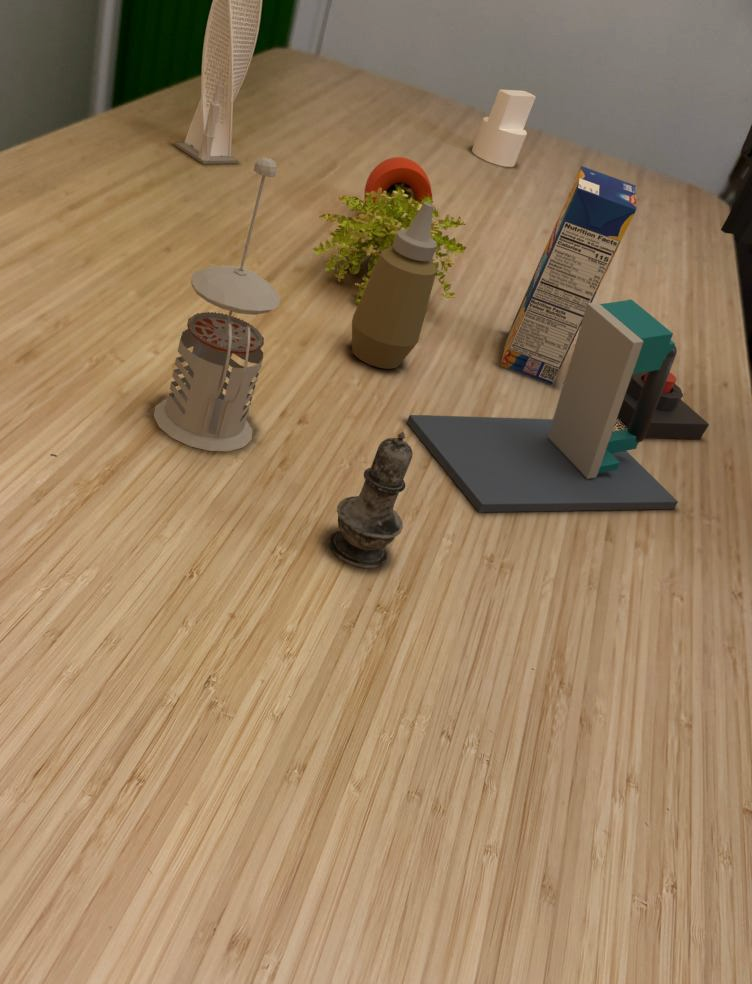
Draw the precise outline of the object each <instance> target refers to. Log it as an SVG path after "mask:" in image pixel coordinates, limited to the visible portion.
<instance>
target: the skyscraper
mask: <svg viewBox="0 0 752 984" xmlns="http://www.w3.org/2000/svg"><path fill="white" fill-rule="evenodd" d="M262 8H263V0H212V2H211V5H210V9H209V13H208V18H207V22H206V28H205V33H204V39H203V47H202V56H201V57H202V58H201V59H202V60H201V74H200V75H201V78H200V80H201V81H200V87H201V88H200V92H201V94H200V99H199V101H198V105H197V107H196V110H195V112H194V116H193V117H192V120H191V122H190V126H189V128H188V131H187V134H186V137H185V139H184V142H174V146H175V147H176V148H178V149H179V150H180V151H183V152H184V153H185V154H187V155H189V156H190V157H192V158H193V159H195V160H196V161H198V162H199V163H201V164H202V165H214V164H215V165H217V164H219V165H220V164H221V165H222V164H237V163H238V160H237V159H236V158H234V157H232V139H233V138H232V137H233V114H234V113H233V111H234V110H233V108H234V102H235V100H236V98H237V96H238V94H239V92H240V90H241V87H242V85H243V84H244V81H245V78H246V75H247V74H248V69H249V68H250V66H251V65H250V64H251V62H252V59H253V56H254V53H255V48H256V45H257V40H258V36H259V31H260V25H261V18H262Z"/></svg>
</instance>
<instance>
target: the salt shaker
mask: <svg viewBox="0 0 752 984" xmlns="http://www.w3.org/2000/svg"><path fill="white" fill-rule="evenodd" d="M405 439H406V434H405V432H404V431H401V432H399V433H398V434H397V437H387V438H385V439H383V440H382V441H381V442H380V443H379V445H378V447H377V450H376V453H375V455H374V457H373V460H372V463H371V466H370V467H368V468H366V469H365V470H364V472H363V479H364V482H363V485H362V487H361V491H360V492H359V494H358V495H356V496H355V495H354V496H352V495H351V496H348V497H345V498H343V499H341V500H340V501H339V502H338V504H337V509H336V512H337V525H338V530H336V531H335V532H333V533H332V534H331V535H330V537H329V539H328V545H329V548H330V551H332V553H333V554H334V555H335V556H336V557H337V558H338V559H340V560H341V561H342V562H344V563H346V564H348V565H350V566H354V567H357V568H359V569H360V568H361V569H376V568H378V567H381V566H383V565H384V564H385V563H386V561H387V559H388V554H387V551H386V547H387V546H388V545H389V544H390V543H392V542H393V541H394V540H395V537H397V536H399V535H400V534H401V532H402V531H403V529H404V523H403V520H402V518H401V516H400V515H399V514H398V512H397V511H396V510H395V509H394V508H395V504H396V501H397V498H398V497H399V495H400V494H399V493H401V492H404V490H405V489H406V482H405V480H404V479H405V476H406V473H407V471H408V469H409V467H410V464H411V461H412V459H413V454H414V453H413V450H412V447H411V446H410V445H409V444H408V443H407V441H405Z"/></svg>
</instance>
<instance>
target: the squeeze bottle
mask: <svg viewBox="0 0 752 984" xmlns="http://www.w3.org/2000/svg"><path fill="white" fill-rule="evenodd" d="M434 207H435V205H434V203H432V204H431V203H428V202H424V203H423V205H422V206H421V208H420V210H419V211H418V213H417V215H416V217H415V218H414V220H413V222H412V223H411V225H410V227H409V228H408V229H401V230H398V231H397V233H396V236H395V239H394V242H393V246H392V247H389V248H387V249H385V250H383V251H382V252H381V254H380V256H379V258H378V261H377V263H376V264H375V267H374V270H373V272H372V274H371V277H370V276H369V278H370V279H369V278H368V279H369V281H368V283H367V286H366V288H365V289H364V292H363V295H362V296H360V298H359V299H360V302H359V304H357V306H356V308H355V311H354V312H353V315H352V318H351V319H352V320H351V351H352V353H353V355H354V356H355V357H356V358H357V359H358V360H360V361H362V362H364V363H366V364H367V365H369V366H372V367H376V368H379V369H386V370H390V369H396V368H398V367H399V366H401V364H402V363H403V361H404V360H405V359H406V358H407V357H408V355H409V354H410V353H411V352H412V350H413V349H414V348H415V347H416V345H417V344H418V343H419V339H420V335H421V332H422V328H423V325H424V321H425V317H426V313H427V309H428V307H429V302H430V298H431V294H432V290H433V286H434V284H435V283H434V282H435V280H436V279H435V278H436V269H437V270H438V268H436V266H435V265H434V263H435V262H434V261H433V262H432V259H434V255H435V254H436V252H435V250H436V247H437V243H436V242H435V241H434V239H432V238H431V237H430V231H431V223H432V220H433V218H432V216H433V210H434Z"/></svg>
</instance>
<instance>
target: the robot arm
mask: <svg viewBox="0 0 752 984" xmlns="http://www.w3.org/2000/svg"><path fill="white" fill-rule="evenodd" d="M740 153H741V156H743V157H745V158H746V160H747V161H748V169H747V171H746V173H745V175H744V177H743V179H742V181H741V183H740V184H739V186H738V187H737V190H736V192H735V196H734V198H736V201H735V202H734V204H733V206H732V208H731V209H730V211H729V214H728V215H727V217H726V219H725V221H724V223H723V225H722V227H721V228H720V231H721V232H723V233H724V234H729V235H735V236H734V241H736V242H737V243H741V244H749V245H752V124H751V125H750V128H749V130H748V132H747V135H746V137H745V140H744V141H743V145H742V147H741V149H740Z"/></svg>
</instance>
